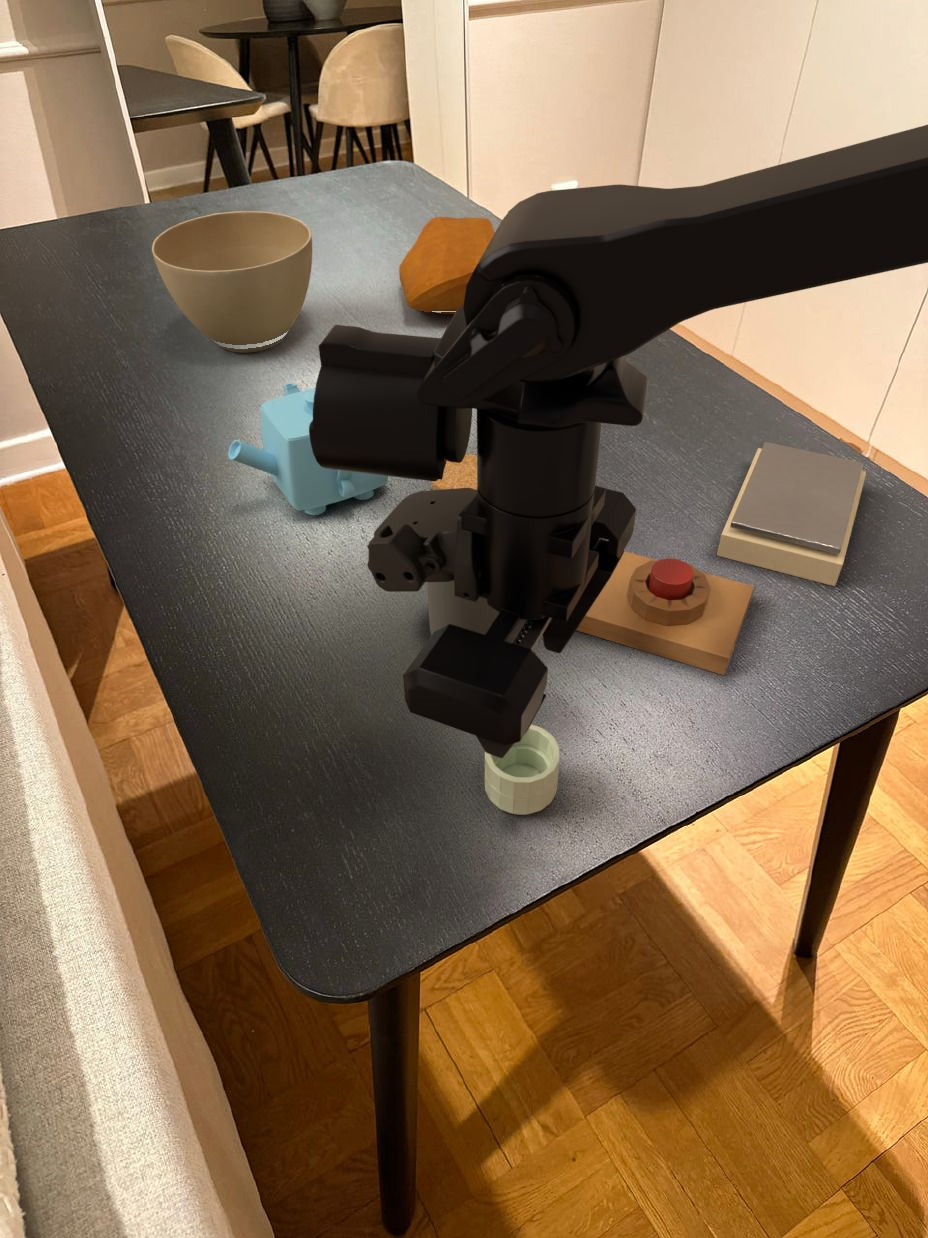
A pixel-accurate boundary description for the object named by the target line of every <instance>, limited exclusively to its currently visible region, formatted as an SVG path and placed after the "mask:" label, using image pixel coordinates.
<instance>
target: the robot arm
mask: <svg viewBox="0 0 928 1238" xmlns="http://www.w3.org/2000/svg"><path fill="white" fill-rule="evenodd" d="M494 233H495V234H494V236H493V237H492V239H491V241H490V243H489V244H488V246H487V248H486V250H485V252H484V253H483V255H482V257H481V259H480V260H479V262H478V264H477V266H476V268H475V270H474V272H473V274H472V276H471V278H470V279H469V281H468V283H467V285H466V292H465V299H464V306H462V307H458V309H457V311H456V312H455V314H453V316H452V318H451V319H450V321H449V323H448V325H447V326H446V328H445V330H444V332H443V334H442V336H441V337H433V336H419V335H411V334H410V335H409V334H399V333H389V332H388V333H385V332H377V331H372V330H369V329H366V328H363V327H361V326H354V325H343V324H335V325H333V327H332V328H331V329H330V330H329V331H328V333H327V334H326V335H325V337H324V338H323V340H322V341H320V343H319V344H318V353H319V354H318V355H319V360H320V369H319V371H318V375H317V379H316V383H315V387H314V388H315V394H314V403H313V420H312V422H311V423H310V426H309V435H310V442H311V447H312V451H313V454H314V456H315V459H316V461H317V462H318V464H319V465H320V466H321V467H323V468H326V469H334V470H342V471H350V472H359V473H367V474H376V475H384V476H388V477H393V478H401V479H410V480H418V481H425V482H427V481H428V482H431V481H434V482H435V481H437V480H438V479H440V480H442V478H443V474H444V468H445V465H446V462H447V461H449V462H456V463H460V462H462V460H463V459H464V457H465V454H467V451H468V446H469V441H470V437H471V429H472V421H473V410H474V409H475V410H476V455H477V490H474V489H472V488H455V489H442V490H430V489H428V490H420V491H416V492H413V493H411V494H409V495H407V496H406V497H403V499H402V500H401V501H400V502H399V503H398V504H397V505H396V506H395V507H394V508H393V510H392V511H391V512H390V513H389V514H388V515H387V517H386V518H385V519H384V520H382V522H381V523H380V524H379V525H378V526H377V527H376V529H375V531H374V532H373V537H372V538H371V540H370V541H369V542H368V544H367V546H366V547H367V550H368V561H367V569H368V570H369V571H370V572H371V575H372V577H373V579H374V581H375V583H376V585H377V586H378V588H380V589H381V590H383V591H385V592H391V593H392V592H395V593H396V592H397V593H399V592H400V593H401V592H407V593H408V592H409V593H410V592H412V593H413V592H419V591H420V590H422V588H423V586H424V585H425V584H426V583H427V582H449V581H453V580H454V588H455V596H457V597H461V598H464V599H467V600H470V601H474V602H476V601H477V600H478V598H479V597H483V598H486V599H487V604H488V605H489V606H491V607H492V608H493V609H495V610H496V611H498V612H500V613H499V614H498V616H497V617H496V619H495V620H494V622H493V624H492V625H491V627H490V628H489V630H488V631H487V633H486V634H485V635H484V634H480V633H477V632H474V631H471V630H468V629H464V628H461V627H458V626H455V625H452V624H448V625H447V626H445V627H443V628H441V629H439V630H437V631H435V632H434V633H433V634H432V635H431V634H430V636H429V638H428V640H427V641H426V643H425V644H424V645H423V647H422V648H421V650H420V651H419V652H418V654H417V655H416V657H415V658H414V659H413V660H412V662H411V663H410V665H409V667H408V668H407V669H406V670H405V672H404V673H403V675H402V679H403V691H404V700H405V703H406V706H407V709H408V710H409V713H411V714H414V715H417V716H419V717H422V718H426V719H428V720H430V721H433V722H436V723H440V724H443V725H445V726H448V727H450V728H454V729H456V730H458V731H462V732H465V733H468V734H471V735H473V736H475V737H476V739H477V740H478V742H479V744H480V745H481V747H482V749H483V751H484V753H485V752H486V753H488V754H490V755H493V756H496V757H499V758H504V756H505V755H506V754H507V752H508V751H509V750H510V749H511V747H512V746H513V745H514V744H515V743H516V742H520V741H521V739H522V737H523V736H524V734H526V732H527V731H528V729H529V728H530V726H531V724H532V725H533V722H534V720H535V718H536V716H537V714H538V713H539V711H540V709H541V707H542V705H543V704H544V701H545V700H546V697H547V694H546V693H545V690H546V688H547V684H548V674H549V673H548V672H549V667H548V666H547V665H546V664H545V663H544V662H543V660H541V658H540V657H539V656H538V655H537V654H536V653H535V652H534V651H535V648H536V647H537V645H538V644H539V642H540V639H542V640H543V645H544V649H546V650H547V651H550V652H552V653H555V654H561V653H562V652H563V651H564V649H565V648H566V646H567V645H568V643H569V642H570V640H571V639H572V637H573V636H574V634H575V632H576V631H577V630H576V629H577V628H578V626H579V625H580V623H581V622H582V620H583V619H584V617H585V615H586V614H587V612H588V611H589V609H590V608H591V606H592V605H593V603H594V602H595V600H596V599H597V597H598V596H599V594H600V593H601V591H602V590H603V588H604V587H605V585H606V583H607V582H608V580H609V579H610V577H611V576H612V574H613V572H614V570H615V568H616V566H617V565H618V563H619V561H620V559H621V557H622V555H623V553H624V551H625V549H626V547H627V546H628V543H629V542H630V540H631V538H632V536H633V534H634V529H635V521H636V514H637V507H636V506H635V505H634V504H633V503H632V502H631V500H630V499H629V498H628V497H627V496H626V494H625V493H624V492H622V491H618V490H614V489H611V488H606V487H602V486H599V485H596V483H597V482H596V481H597V471H598V462H599V453H600V443H601V431H602V424H606V425H615V426H616V425H617V426H625V427H627V426H628V427H636V426H639V425H640V424H641V423H642V422H643V419H644V413H645V407H646V401H647V396H648V390H649V384H650V383H649V378H648V376H647V375H646V374H644V373H643V372H641V370H640V369H639V368H637V367H636V366H635V365H634V364H632V363H630V362H629V361H628V360H627V359H626V357H625V356H627V355H630V354H631V353H634V352H635V351H637V350H638V349H640V348H641V347H643V346H645V345H647V344H648V343H649V342H651V341H653V340H654V339H656V338H657V337H659V336H661V335H662V334H664V333H665V332H667V331H669V330H670V329H672V328H673V327H675V326H676V325H678V324H680V323H682V322H684V321H687V320H689V319H692V318H695V317H697V316H700V315H702V314H705V313H707V312H710V311H713V310H716V309H717V310H718V309H722V308H725V307H730V306H735V305H739V304H744V303H749V302H755V301H759V300H762V299H767V298H772V297H776V296H781V295H786V294H790V293H796V292H799V291H805V290H809V289H813V288H818V287H822V286H827V285H832V284H836V283H841V282H845V281H850V280H855V279H858V278H863V277H869V276H873V275H878V274H882V273H883V274H884V273H887V272H891V271H897V270H900V269H905V268H909V267H914V266H915V267H916V266H919V265H924V264H928V124H925V125H921V126H917V127H914V128H909V129H906V130H902V131H899V132H895V133H891V134H888V135H883V136H879V137H877V138H872V139H869V140H865V141H863V142H858V143H855V144H851V145H847V146H844V147H840V148H835V149H832V150H828V151H824V152H821V153H818V154H814V155H810V156H807V157H803V158H802V157H801V158H799V159H795V160H792V161H788V162H785V163H784V162H783V163H781V164H776V165H774V166H769V167H766V168H762V169H758V170H755V171H749V172H748V173H744V174H738V175H736V176H733V177H729V178H724V179H721V180H718V181H714V182H709V183H706V184H702V185H695V186H684V187H672V188H663V187H652V186H642V185H641V186H640V185H629V184H607V185H597V186H596V185H595V186H587V187H576V188H564V189H555V190H553V189H552V190H547V191H541V192H536V193H535V194H533V195H531V196H529V197H527V198H525V199H522V200H520V201H519V202H517V203H516V204H515V205H514V206H512V208H511V209H509V210H508V211H507V213H506V215H505V216H504V217H503V218H502V220H501V221H500V223H499V225H498V227H497V228H496V230H495V231H494Z"/></svg>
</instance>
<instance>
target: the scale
mask: <svg viewBox="0 0 928 1238" xmlns="http://www.w3.org/2000/svg"><path fill="white" fill-rule="evenodd" d="M761 450H762V448H760V447H758V448H757V450H756V452H755V455H754V457H753V460H752V462H751V464H750V467H749V469H748V470H747V474H746V476H745V478H744V481H743V483H742V485H741V487H740V489H739V493H738V495H737V497H736V499H735V501H734V503H733V507H732V508H731V511H730V514H729V516H728V518H727V520H726V523H725V525H724V528H723V529H722V532H721V534H720V535H721V536H720V539H719V544H718V548H717V551H716V552H717V553H716V556H717V557H720V558H724V559H727V560H732V561H734V562H735V561H736V562H740V563H743V564H747V565H751V566H754V567H759V568H762V569H765V570H766V569H767V570H771V571H773V572H778V573H782V574H785V575H789V576H793V577H796V578H801V579H804V580H809V581H813V582H816V583H820V584H824V585H828V586H832V587H836V585H837V582H838V580H839V577H840V575H841V571H842V569H843V566H844V563H845V558H846V553H847V551H848V547H849V543H850V540H851V538H852V534H853V530H854V525H855V523H856V517H857V515H858V510H859V503H860V499H861V495H862V492H863V487H864V483H865V479H866V476H867V471H865V470H862V472H861V475H860V479H859V483H858V487H857V491H856V495H855V498H854V502H853V506H852V510H851V514H850V517H849V521H848V525H847V529H846V533H845V537H844V540H843V544H842V548H841V551H840V554H835V553H831V552H827V551H823V550H819V549H815V548H811V547H807V546H803V545H799V544H795V543H791V542H787V541H783V540H779V539H775V538H771V537H767V536H763V535H759V534H755V533H751V532H747V531H743V530H739V529H735V528H731V527H730V525H731V522H732V519H733V517H734V514H735V512H736V510H737V507H738V505H739V502H740V500H741V498H742V495H743V493H744V491H745V488H746V486H747V483H748V481H749V479H750V476H751V474H752V471H753V469H754V467H755V464H756V462H757V460H758V457H759V455H760V452H761Z"/></svg>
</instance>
